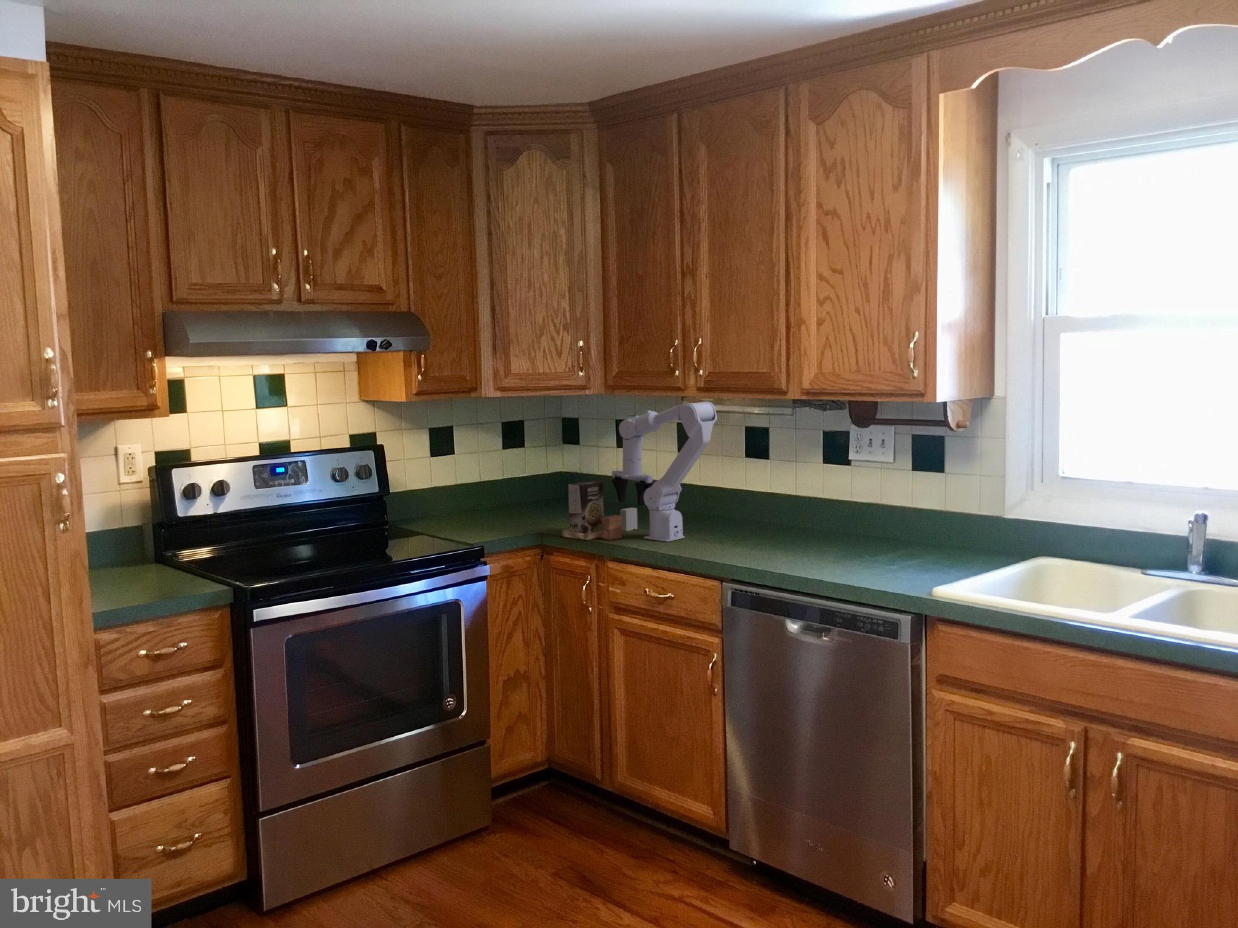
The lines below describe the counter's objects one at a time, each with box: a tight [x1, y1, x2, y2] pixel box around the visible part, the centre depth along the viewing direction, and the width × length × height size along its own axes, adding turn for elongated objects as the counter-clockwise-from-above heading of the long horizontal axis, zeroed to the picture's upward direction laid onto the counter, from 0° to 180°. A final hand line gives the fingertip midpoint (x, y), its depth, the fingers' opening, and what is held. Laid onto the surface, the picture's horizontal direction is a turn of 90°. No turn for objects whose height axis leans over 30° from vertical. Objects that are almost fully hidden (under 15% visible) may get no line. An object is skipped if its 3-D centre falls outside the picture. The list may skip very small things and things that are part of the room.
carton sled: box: [561, 514, 623, 541], centre depth 328 cm, size 16×13×6 cm
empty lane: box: [619, 507, 639, 532], centre depth 343 cm, size 16×8×6 cm, turn 46°
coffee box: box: [567, 481, 605, 534], centre depth 329 cm, size 9×6×16 cm
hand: (631, 503), depth 329 cm, fingers open, 7 cm apart
